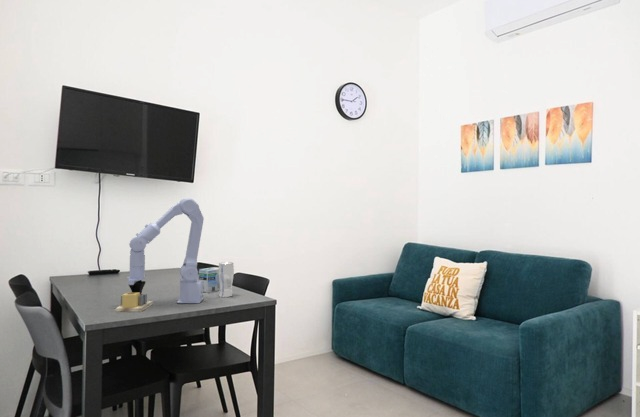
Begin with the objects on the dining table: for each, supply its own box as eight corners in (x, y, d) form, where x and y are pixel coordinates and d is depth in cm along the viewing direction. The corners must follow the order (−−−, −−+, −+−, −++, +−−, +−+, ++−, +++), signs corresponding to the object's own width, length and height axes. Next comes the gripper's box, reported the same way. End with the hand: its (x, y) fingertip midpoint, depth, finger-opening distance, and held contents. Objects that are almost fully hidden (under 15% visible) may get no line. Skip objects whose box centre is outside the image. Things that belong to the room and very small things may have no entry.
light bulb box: (207, 293, 206) (207, 270, 206) (197, 291, 210) (198, 269, 210) (224, 289, 215) (224, 267, 215) (214, 288, 219) (214, 266, 219)
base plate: (152, 304, 182) (152, 295, 182) (141, 311, 169) (141, 301, 169) (127, 304, 181) (128, 295, 181) (115, 311, 168) (115, 301, 168)
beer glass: (229, 297, 196) (230, 264, 196) (215, 296, 198) (215, 263, 198) (235, 294, 203) (236, 262, 203) (221, 294, 204) (222, 262, 204)
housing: (147, 302, 178) (147, 293, 178) (142, 305, 173) (142, 296, 173) (124, 302, 177) (124, 293, 177) (119, 305, 172) (119, 296, 172)
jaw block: (139, 304, 174) (140, 292, 174) (135, 307, 169) (135, 294, 169) (127, 304, 174) (127, 292, 174) (122, 307, 169) (122, 294, 169)
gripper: (133, 264, 186) (133, 296, 186) (120, 268, 171) (119, 303, 171) (150, 264, 186) (150, 296, 186) (138, 268, 172) (138, 303, 172)
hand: (136, 299), depth 179 cm, fingers closed
